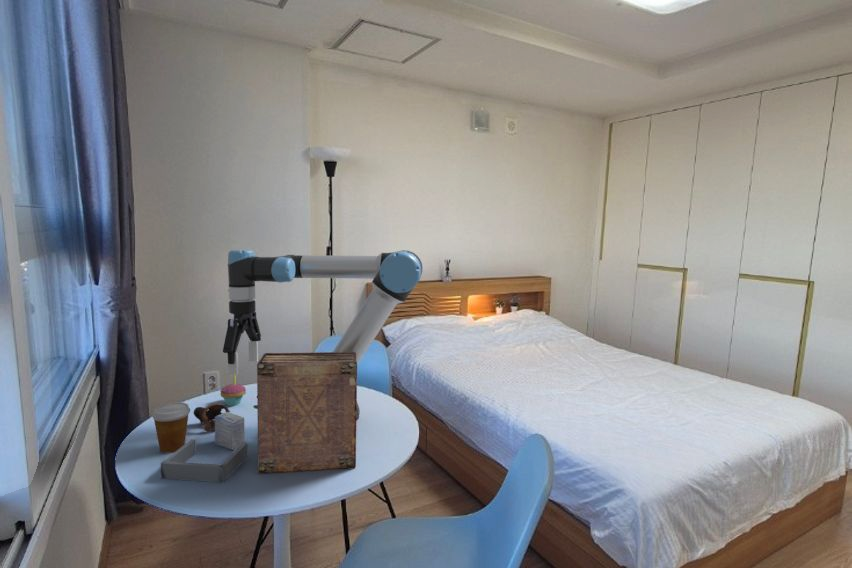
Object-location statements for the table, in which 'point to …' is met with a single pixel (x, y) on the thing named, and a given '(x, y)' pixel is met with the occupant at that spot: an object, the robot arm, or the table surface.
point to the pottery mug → (209, 414)
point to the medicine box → (229, 430)
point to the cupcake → (233, 393)
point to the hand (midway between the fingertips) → (243, 367)
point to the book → (306, 411)
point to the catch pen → (200, 465)
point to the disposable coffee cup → (171, 425)
